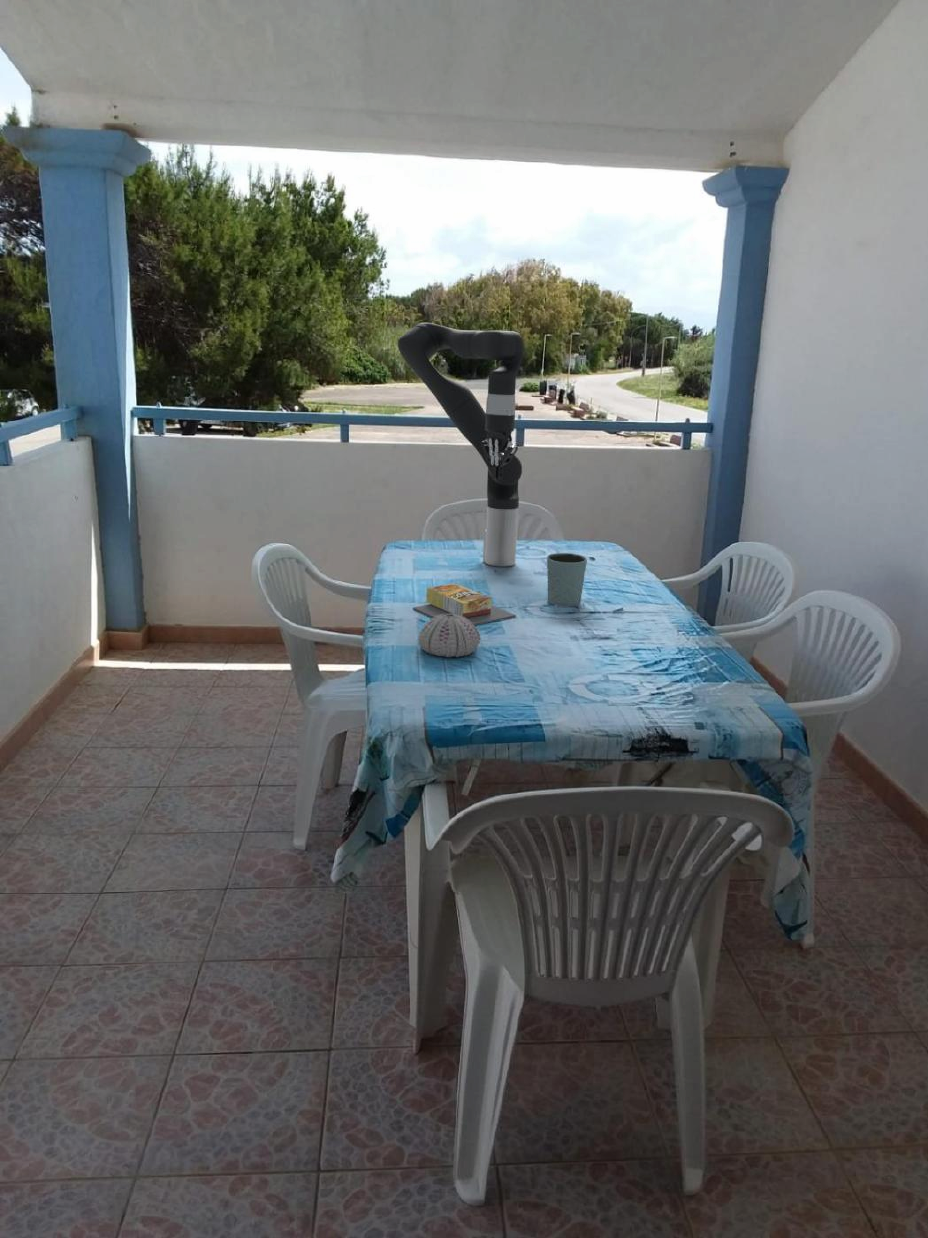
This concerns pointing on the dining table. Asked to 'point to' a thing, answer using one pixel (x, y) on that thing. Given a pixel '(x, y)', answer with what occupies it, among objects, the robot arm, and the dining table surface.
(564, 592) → the green cup
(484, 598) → the candy box
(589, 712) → the dining table surface
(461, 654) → the sea urchin shell
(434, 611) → the mat
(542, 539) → the dining table surface
